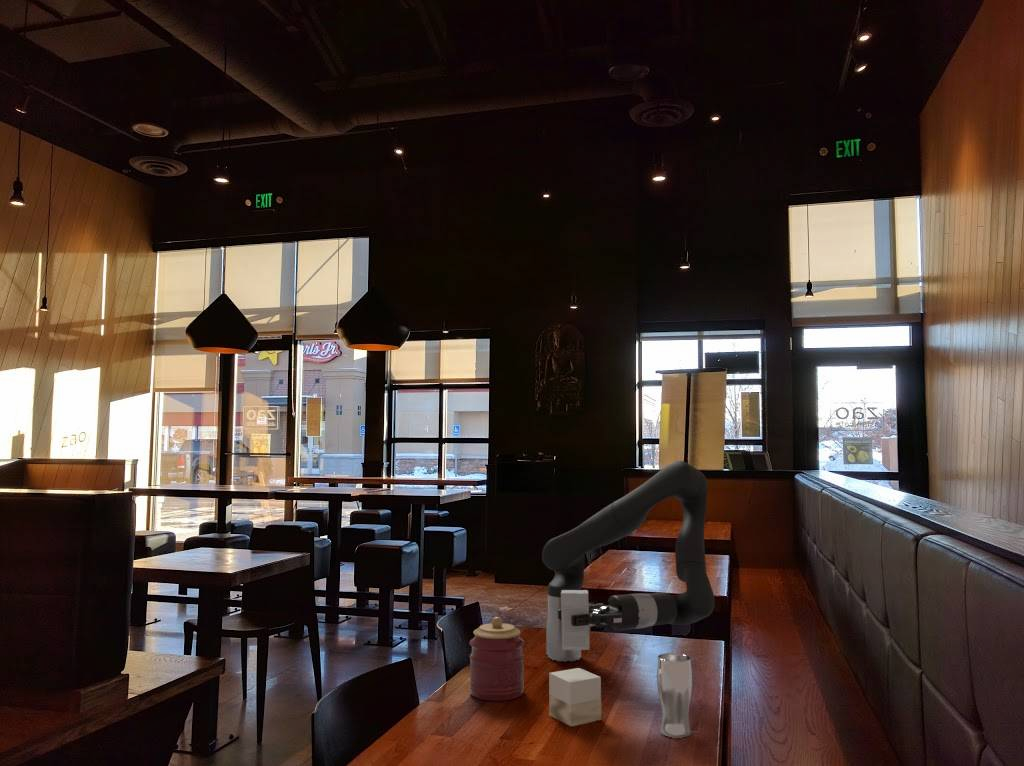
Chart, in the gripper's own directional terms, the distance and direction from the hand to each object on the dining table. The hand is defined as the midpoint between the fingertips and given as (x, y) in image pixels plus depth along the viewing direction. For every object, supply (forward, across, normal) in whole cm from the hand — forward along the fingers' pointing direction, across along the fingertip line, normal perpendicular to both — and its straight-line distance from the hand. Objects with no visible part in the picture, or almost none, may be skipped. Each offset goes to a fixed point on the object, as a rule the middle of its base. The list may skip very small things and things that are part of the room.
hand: (565, 617), depth 163 cm
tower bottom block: (-2, 0, +21) cm, 21 cm away
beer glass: (-17, +16, +22) cm, 32 cm away
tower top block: (-2, 0, +17) cm, 17 cm away
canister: (+8, -22, +21) cm, 31 cm away
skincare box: (-2, 0, +7) cm, 7 cm away
